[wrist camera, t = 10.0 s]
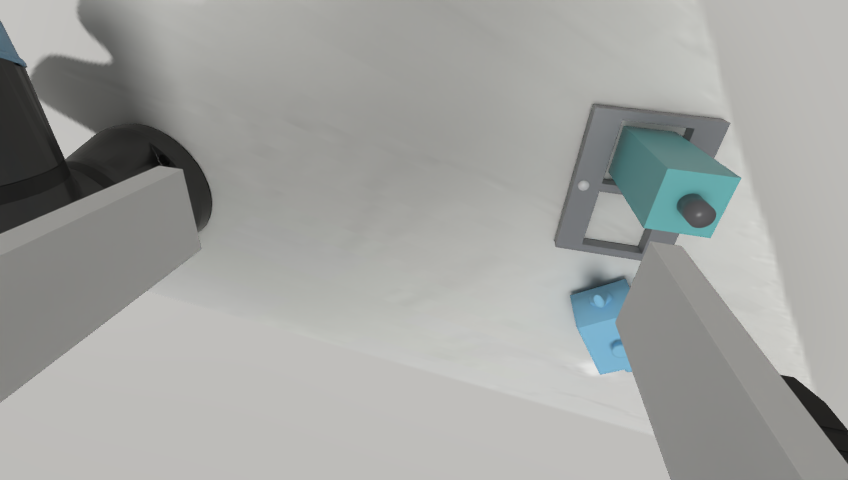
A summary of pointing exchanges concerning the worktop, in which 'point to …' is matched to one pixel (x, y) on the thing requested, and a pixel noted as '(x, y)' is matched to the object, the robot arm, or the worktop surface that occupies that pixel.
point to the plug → (671, 181)
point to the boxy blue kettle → (602, 324)
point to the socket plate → (591, 181)
